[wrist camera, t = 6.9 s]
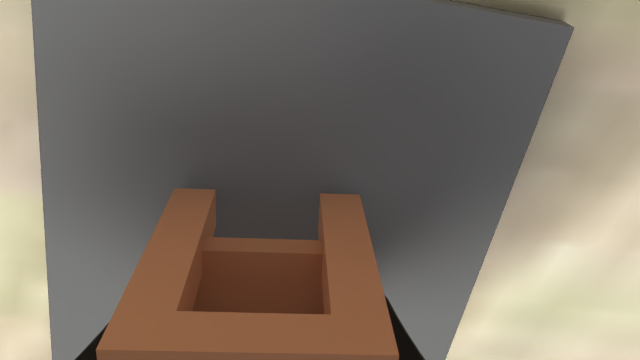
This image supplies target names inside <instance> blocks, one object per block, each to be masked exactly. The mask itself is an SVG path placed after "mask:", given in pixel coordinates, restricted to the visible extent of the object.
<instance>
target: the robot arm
mask: <svg viewBox="0 0 640 360" xmlns="http://www.w3.org/2000/svg"><path fill="white" fill-rule="evenodd" d="M385 299H386V303H387V307H388V312H389V316H390V320H391V324H392V328H393V332H394V336H395V340H396V344H397V348H398V352H399V360H425V359H424V357H423V356H422V354H421V353H420V351H419V350H418V348H417V347H416V346H415V344H414V342H413V341H412V339H411V338H410V336H409V335H408V333H407V331H406V330H405V328H404V326H403V325H402V323H401V321H400V320H399V318H398V316H397V315H396V313H395V311H394V309H393V307H392V305H391V304H390V302H389V300H388V298H387V297H386V296H385ZM108 324H109V323H108ZM108 324H107V325H106V326H105V327H104V329H103V330H102V331H101V332H100V333H99V334H98V335H97V336H96V337H95V338H94V339H93V341H92V342H91V343H90V344H89V345H88V346H87V347H86V348H85V349H84V350H83V351H82V352H81V353H80V355H79V356H78V357H77V358H76V359H75V360H97V355H96V348H97V346H98V344H99V342H100V340H101V338H102V336H103V334H104V332H105V330H106V328H107V326H108Z"/></svg>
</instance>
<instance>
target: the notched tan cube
mask: <svg viewBox="0 0 640 360" xmlns="http://www.w3.org/2000/svg"><path fill="white" fill-rule="evenodd" d="M215 228H216V190H213V189H184V188H175V189H174V191H173V193H172V195H171V197H170V199H169V201H168V203H167V205H166V207H165V209H164V211H163V213H162V215H161V217H160V219H159V221H158V223H157V225H156V228H155V230H154V232H153V234H152V236H151V238H150V240H149V242H148V244H147V246H146V248H145V250H144V252H143V254H142V256H141V258H140V260H139V262H138V264H137V266H136V268H135V271H134V273H133V275H132V277H131V279H130V281H129V283H128V285H127V287H126V289H125V291H124V293H123V295H122V297H121V299H120V301H119V303H118V305H117V307H116V309H115V311H114V314H113V316H112V318H111V320H110V322H109V324H108V326H107V328H106V330H105V332H104V334H103V336H102V338H101V340H100V342H99V344H98V346H97V348H96V355H97V360H399V352H398V348H397V344H396V340H395V336H394V332H393V328H392V324H391V320H390V316H389V312H388V307H387V303H386V299H385V295H384V291H383V287H382V283H381V279H380V275H379V271H378V267H377V263H376V259H375V255H374V251H373V246H372V242H371V238H370V234H369V230H368V226H367V222H366V218H365V214H364V210H363V206H362V202H361V198H360V195H356V194H327V193H320V203H319V220H318V236H319V240H292V239H259V238H226V237H213V235H214V231H215Z"/></svg>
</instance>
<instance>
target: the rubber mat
mask: <svg viewBox="0 0 640 360" xmlns="http://www.w3.org/2000/svg"><path fill="white" fill-rule="evenodd" d="M31 6H32V23H33V40H34V57H35V74H36V92H37V109H38V126H39V143H40V160H41V177H42V194H43V211H44V229H45V246H46V263H47V280H48V297H49V314H50V331H51V348H52V360H75V359H76V358H77V357H78V356H79V355H80V353H81V352H82V351H83V350H84V349H85V348H86V347H87V346H88V345H89V344H90V343H91V342H92V341H93V339H94V338H95V337H96V336H97V335H98V334H99V333H100V332H101V331H102V330H103V329H104V327H105V326H106V325H107V324H108V323H109V322H110V320H111V318H112V316H113V314H114V311H115V309H116V307H117V305H118V303H119V301H120V299H121V297H122V295H123V293H124V291H125V289H126V287H127V285H128V283H129V281H130V279H131V277H132V275H133V273H134V271H135V268H136V266H137V264H138V262H139V260H140V258H141V256H142V254H143V252H144V250H145V248H146V246H147V244H148V242H149V240H150V238H151V236H152V234H153V232H154V230H155V228H156V225H157V223H158V221H159V219H160V217H161V215H162V213H163V211H164V209H165V207H166V205H167V203H168V201H169V199H170V197H171V195H172V193H173V191H174V189H175V188H184V189H213V190H216V228H215V231H214V235H213V237H226V238H259V239H292V240H319V236H318V220H319V203H320V193H327V194H356V195H360V198H361V202H362V206H363V210H364V214H365V218H366V222H367V226H368V230H369V234H370V238H371V242H372V246H373V251H374V255H375V259H376V263H377V267H378V271H379V275H380V279H381V283H382V287H383V291H384V295H385V296H386V297H387V298H388V300H389V302H390V304H391V305H392V307H393V309H394V311H395V313H396V315H397V316H398V318H399V320H400V321H401V323H402V325H403V326H404V328H405V330H406V331H407V333H408V335H409V336H410V338H411V339H412V341H413V342H414V344H415V346H416V347H417V348H418V350H419V351H420V353H421V354H422V356H423V357H424V359H425V360H445V359H446V356H447V354H448V351H449V348H450V346H451V343H452V341H453V338H454V336H455V333H456V330H457V328H458V325H459V323H460V320H461V318H462V315H463V312H464V310H465V307H466V305H467V302H468V300H469V297H470V294H471V292H472V289H473V287H474V284H475V282H476V279H477V276H478V274H479V271H480V269H481V266H482V264H483V261H484V258H485V256H486V253H487V251H488V248H489V246H490V243H491V240H492V238H493V235H494V233H495V230H496V228H497V225H498V222H499V220H500V217H501V215H502V212H503V210H504V207H505V204H506V202H507V199H508V197H509V194H510V191H511V189H512V186H513V184H514V181H515V179H516V176H517V173H518V171H519V168H520V166H521V163H522V161H523V158H524V155H525V153H526V150H527V148H528V145H529V143H530V140H531V137H532V135H533V132H534V130H535V127H536V125H537V122H538V119H539V117H540V114H541V112H542V109H543V107H544V104H545V101H546V99H547V96H548V94H549V91H550V89H551V86H552V83H553V81H554V78H555V76H556V73H557V71H558V68H559V65H560V63H561V60H562V58H563V55H564V53H565V50H566V47H567V45H568V42H569V40H570V37H571V35H572V32H573V29H574V27H572V26H571V25H569V24H567V23H565V22H564V21H558V20H553V19H548V18H542V17H537V16H531V15H526V14H520V13H515V12H509V11H504V10H499V9H493V8H488V7H482V6H477V5H471V4H466V3H461V2H455V1H450V0H31Z"/></svg>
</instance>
